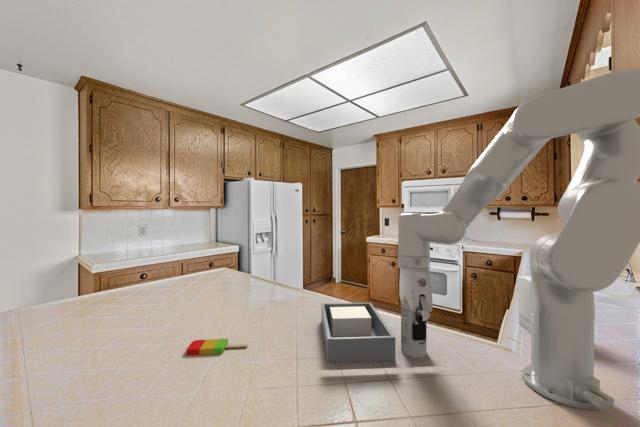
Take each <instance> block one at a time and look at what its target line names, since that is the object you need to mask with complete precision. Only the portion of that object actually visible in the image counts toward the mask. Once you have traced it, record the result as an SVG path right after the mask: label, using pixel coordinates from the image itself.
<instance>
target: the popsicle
mask: <svg viewBox="0 0 640 427" xmlns="http://www.w3.org/2000/svg"><path fill="white" fill-rule="evenodd" d="M228 344H229V339H228V338H217V339H216V338H215V339H214V338H213V339H196V340H193V341H192V342H191V343H190V344H189V345H188V347H187V348H186V355H187V356H204V355H205V356H207V355H221V354H224V351H225V350H226V349H234V348H235V349H236V348H238V349H239V348H248V347H249V346H248V344H247V343H245V344H229V345H228Z"/></svg>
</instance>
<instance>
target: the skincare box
mask: <svg viewBox="0 0 640 427" xmlns="http://www.w3.org/2000/svg"><path fill="white" fill-rule="evenodd" d="M516 278H517V279H516V280H517V281H516V282H517V308H518V324H519V325H520V326H521V327H523V328H524V329H526V330H527V331H528V332H529V333H531V331H532V282H531V275H529V276H528V275H518V276H517V277H516Z"/></svg>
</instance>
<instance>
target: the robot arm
mask: <svg viewBox="0 0 640 427" xmlns="http://www.w3.org/2000/svg"><path fill="white" fill-rule="evenodd" d="M639 117H640V69H635V68H631V69H630V68H629V69H622V70H616V71H613V72H607V73H606V74H602V75H599V76H596V77H592V78H590V79H587V80H583V81H580V82H578V83H575V84H571V85H568V86H565V87H562V88H559V89H556V90H552V91H549V92H546V93H544V94H541V95H538V96H535V97H531V98H530V99H528V100H526V101H524V102H523V103H522V104H520V105H519V106H517V107H516V109H515V110H514V111H513V113H512V115H511V116H510V118H509V119H508V120H507V121H506V123H505V124H504V126H503V127H502V128H501V130H500V131H499V132H498V133H497V135H495V137H494V139H493V140H492V141H491V142H490V144H489V145H488V146H487V147H486V149H485V150H484V151H483V152H482V153H481V155H480V156H479V157H478V159H476V160H475V162H474V163H473V164H472V166H471V167H470V169H469V170H468V172H467V173H466V175H465V176H464V179H463V181H462V182H461V184H460V185H459V187H458V188H457V190H456V191H455V192H454V193H453V195H452V197H451V198H450V199H449V200H448V202H446V204H445V205H444V207H443V208H442V209H441V210H440V212H437V213H426V212H425V213H424V212H403V213H401V214H400V215H399V216H398V219H397V220H398V221H397V225H398V227H397V236H398V237H397V238H398V239H397V240H398V242H397V245H398V246H397V263H398V264H397V268H398V269H400V270H399V280H398V282H399V284H398V285H399V286H398V287H399V290H398V291H399V300H400V301H401V300H402V299H403V297H404V296H405V298H406V300H407V303H408V305H409V309H410V310H411V311H413V319H414V323H412V339H413V340H414V341H420V340H426V341H427V329H426V325H428V319H429V318H430V317H431V314H430V312H433V289H432V288H433V287H432V278H431V273H430V270H431V243H434V244H440V245H446V246H449V245H450V246H451V245H455V244H458V243H459V242H461V241H462V240H463V238H464V237H465V235H466V231H467V228H468V227H469V226H470V225H471V223H472V222H473V221H474V220H475V219H476V217H478V215H479V214H481V212H482V211H483V210H484V209H485V208H486V207H487V206H488V205H489V204H490V203H491V202H492V201H494V200H496V199H497V198H498V197H499V196H501V194H503V192H505V191H506V190H507V189H508V188H509V187H510V186H511V185H512V184H513V182H514V181H515V180H516V179H517V178H518V176H519V175H520V174H521V173H522V171H523V170H525V168H526V167H527V166H528V165H529V163H530V162H531V161H532V160H533V159H534V157H535V156H536V155H537V154H538V153H540V151H541V149H542V148H543V147H544V146H545V145H546V144H547V142H549V141H550V140H551V139H555V138H560V137H564V136H569V135H573V134H575V135H576V136H577V137H578V138H579V140H580V141H581V144H582V146H583V151H582V152H583V153H582V155H581V156H582V157H581V159H580V162H579V164H578V166H577V168H576V170H575V172H574V174H573V175H572V176H573V177H572V178H571V179H570V182H569V184H568V186H567V188H566V190H565V191H564V192H563V195H562V196H561V198H560V199H559V202H558V204H557V214H558V217H559V218H560V220H561V221H563V223H564V224H563V227H562V229H561V231H560V232H552V233H548V234H545V235H542V236H541V237H539V238H538V239H537V240H535V242H533V244H532V246H531V247H530V251H529V257H528V258H529V270H530V271H529V272H530V276H531V282H532V331H531V332H530V333H531V334H530V335H531V346H530V349H531V350H530V351H531V352H530V353H531V354H530V360H531V362H530V363H531V364H530V365H527V366H525V367H523V369H521V370H522V371H521V376H522V379H523V382H525V383H526V385H528V386H529V387H530V388H531V389H532V390H534V391H535V392H537V393H538V394H540V395H542V396H544V397H545V398H548V399H550V400H551V401H554V402H557V403H560V404H562V405H566V406H569V407H573V408H578V409H584V410H599V411H600V412H602V413H606V412H609V411H610V408H611V406H613V404H614V403H615V399H614V398H613V397H612V396H610V395H608V394H607V393H605V392H603V391H602V389H601V386H600V385H601V382H600V379H599V378H597V377H595V376H594V374H595V372H594V371H595V368H594V367H595V316H596V314H595V313H596V312H595V311H596V310H595V309H596V307H595V306H596V305H595V296H594V293H595V292H599V291H600V292H601V291H602V290H604V289H607V288H609V287H610V286H611V285H612V284H613V283H615V282H616V280H618V278H619V277H620V276H621V275H622V273H623V271H624V270H625V268H626V266H627V265H628V264H629V262H630V260H631V258H632V256H633V255H634V254H635V252H636V250H637V248H638V247H639V245H640V183H638V180H639V178H640V125H639V124H638V122H637V121H636V119H638V118H639ZM416 307H420V308H421V310H416ZM417 313H421V315H419V316H418V318H417Z"/></svg>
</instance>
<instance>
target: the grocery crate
mask: <svg viewBox="0 0 640 427" xmlns="http://www.w3.org/2000/svg"><path fill="white" fill-rule="evenodd" d="M360 306H365V308H366V310H367V311H368V313H369V315H370V316H371V335H365V336H333V335H332V331H331V326H330V307H360ZM321 326H322V333H323V340H324V349H325V355H326V360H327V364H335V363H342V364H343V363H365V362H366V363H369V362H370V363H372V362H395V361H396V336H395V335H394V333H393V331H391V329H390V328H389V326H388V325H387V323H386V322H385V321H384V319H383V318H382V316H381V315H380V313H379V312H378V311H377V309H376V308H375V307H374V305H373V303H372V302H331V303H330V302H329V303H321Z"/></svg>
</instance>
